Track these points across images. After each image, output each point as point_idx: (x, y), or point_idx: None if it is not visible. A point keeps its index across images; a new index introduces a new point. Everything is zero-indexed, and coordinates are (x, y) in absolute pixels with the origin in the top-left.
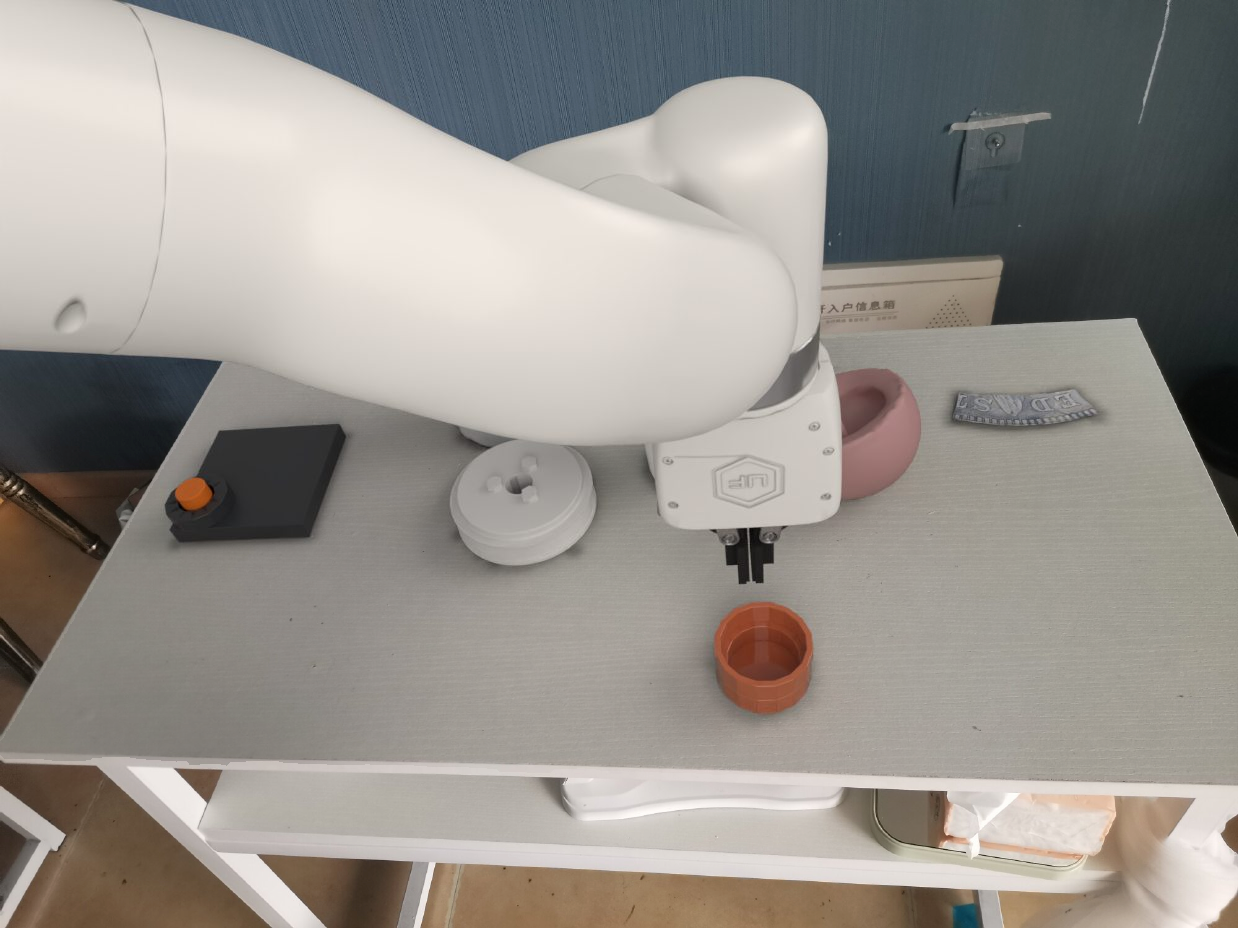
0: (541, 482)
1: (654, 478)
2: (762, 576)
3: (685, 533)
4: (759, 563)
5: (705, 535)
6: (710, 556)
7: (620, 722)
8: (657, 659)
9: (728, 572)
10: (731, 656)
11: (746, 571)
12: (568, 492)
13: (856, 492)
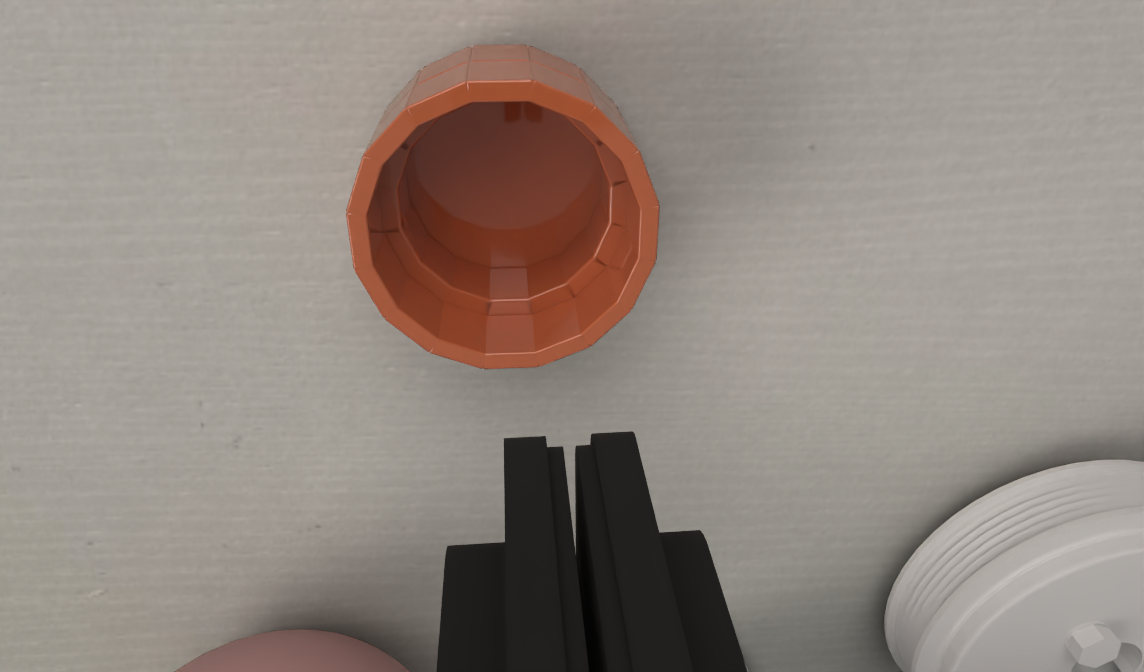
0: (1051, 670)
1: None
2: (510, 477)
3: None
4: (529, 569)
5: None
6: None
7: (912, 25)
8: (785, 216)
9: None
10: (592, 219)
11: (601, 507)
12: (991, 649)
13: (248, 665)
